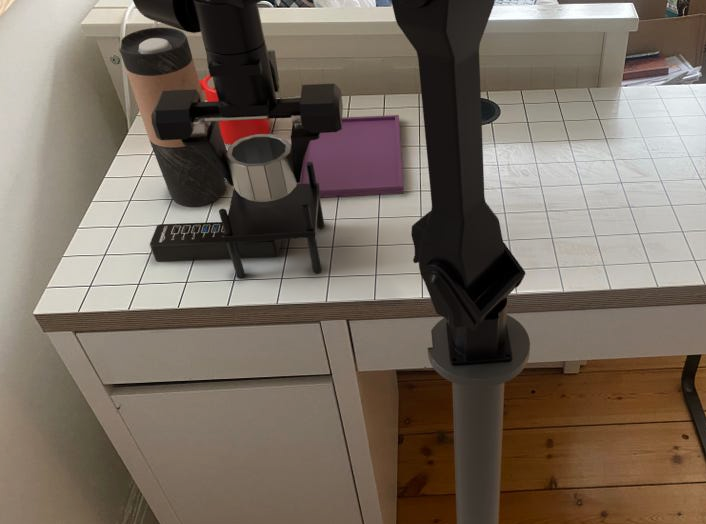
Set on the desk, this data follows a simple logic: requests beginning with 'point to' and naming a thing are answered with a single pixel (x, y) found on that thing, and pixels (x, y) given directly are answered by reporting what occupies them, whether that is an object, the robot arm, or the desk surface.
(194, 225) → the multiport hub
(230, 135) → the mug
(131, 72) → the travel mug
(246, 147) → the bowl
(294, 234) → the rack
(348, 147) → the purple tray
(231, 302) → the desk surface
